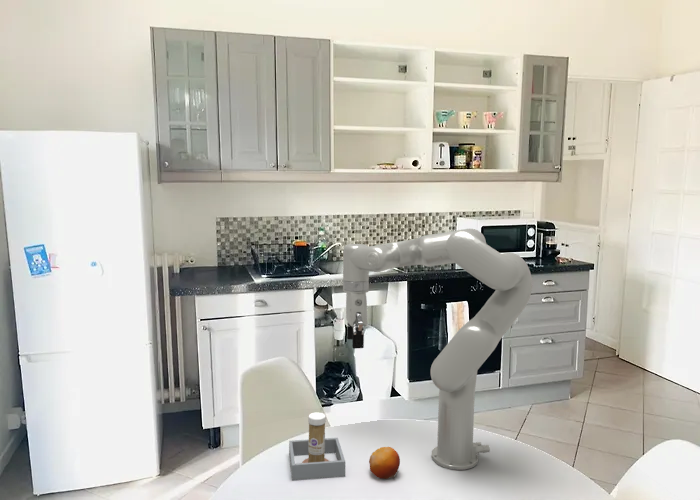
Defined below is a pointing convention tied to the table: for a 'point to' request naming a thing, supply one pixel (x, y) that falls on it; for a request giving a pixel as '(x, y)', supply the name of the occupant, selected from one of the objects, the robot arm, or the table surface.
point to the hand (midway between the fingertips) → (355, 343)
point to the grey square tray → (316, 468)
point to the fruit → (384, 463)
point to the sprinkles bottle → (316, 437)
